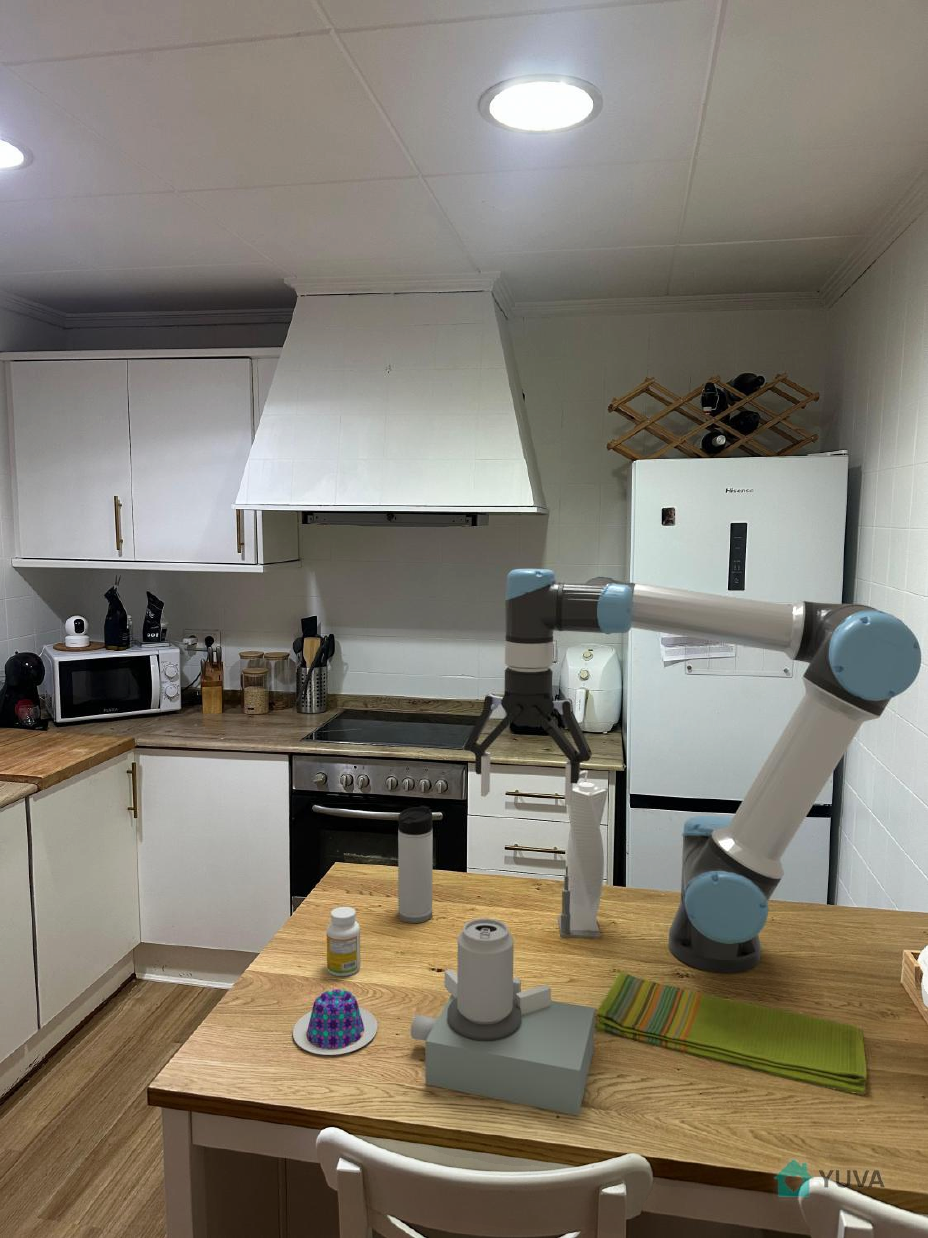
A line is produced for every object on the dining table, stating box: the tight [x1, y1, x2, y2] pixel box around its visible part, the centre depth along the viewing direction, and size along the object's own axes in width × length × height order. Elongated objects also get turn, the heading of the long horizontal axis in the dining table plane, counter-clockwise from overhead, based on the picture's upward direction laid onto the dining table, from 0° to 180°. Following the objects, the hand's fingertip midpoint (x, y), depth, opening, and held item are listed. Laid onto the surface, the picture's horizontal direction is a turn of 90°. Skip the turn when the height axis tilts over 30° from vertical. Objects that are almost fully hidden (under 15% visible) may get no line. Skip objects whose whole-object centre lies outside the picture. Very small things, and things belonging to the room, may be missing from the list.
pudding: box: [292, 988, 378, 1056], centre depth 121 cm, size 12×12×5 cm
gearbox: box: [410, 968, 596, 1117], centre depth 114 cm, size 24×14×8 cm, turn 74°
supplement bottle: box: [326, 906, 361, 977], centre depth 137 cm, size 5×5×10 cm
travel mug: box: [397, 805, 434, 924], centre depth 155 cm, size 6×7×20 cm
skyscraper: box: [557, 769, 609, 939], centre depth 151 cm, size 8×8×28 cm
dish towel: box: [595, 971, 868, 1095], centre depth 122 cm, size 15×36×3 cm, turn 67°
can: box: [456, 917, 514, 1025], centre depth 113 cm, size 8×8×12 cm
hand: (526, 798), depth 135 cm, fingers open, 13 cm apart
